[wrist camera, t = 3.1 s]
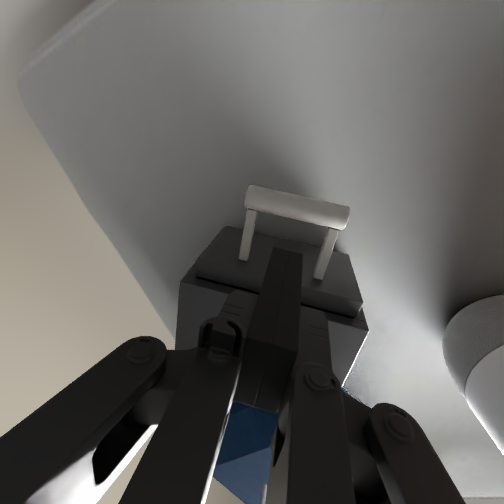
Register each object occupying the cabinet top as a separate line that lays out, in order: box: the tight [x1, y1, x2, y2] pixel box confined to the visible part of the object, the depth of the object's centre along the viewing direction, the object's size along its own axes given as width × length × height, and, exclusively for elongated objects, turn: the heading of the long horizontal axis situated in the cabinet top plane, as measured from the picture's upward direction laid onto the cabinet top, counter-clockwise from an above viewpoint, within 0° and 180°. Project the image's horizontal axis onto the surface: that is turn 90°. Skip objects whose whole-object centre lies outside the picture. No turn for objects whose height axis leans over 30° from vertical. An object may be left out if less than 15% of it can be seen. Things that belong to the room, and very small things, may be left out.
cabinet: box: [175, 263, 369, 408], centre depth 23 cm, size 12×12×9 cm
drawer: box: [195, 185, 363, 317], centre depth 21 cm, size 15×10×7 cm
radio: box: [213, 388, 349, 504], centre depth 23 cm, size 21×9×20 cm, turn 42°
